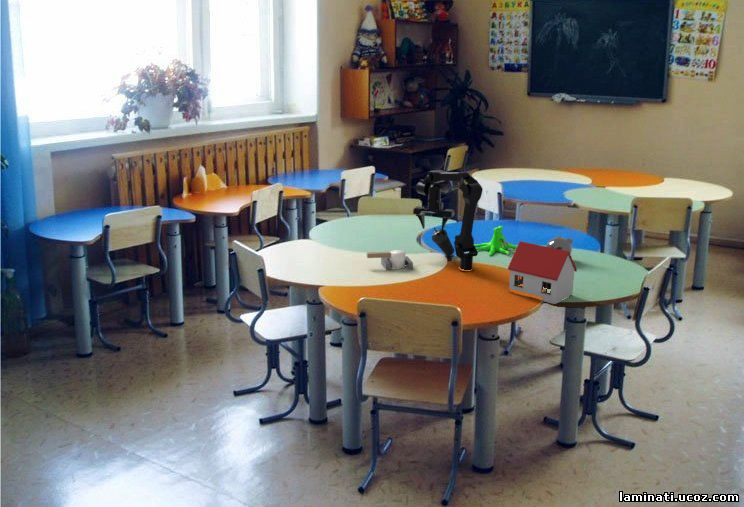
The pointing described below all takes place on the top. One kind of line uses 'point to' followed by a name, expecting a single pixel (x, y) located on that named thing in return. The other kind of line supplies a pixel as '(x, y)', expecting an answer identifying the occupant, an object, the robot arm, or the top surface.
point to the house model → (542, 271)
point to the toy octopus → (496, 243)
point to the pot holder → (386, 263)
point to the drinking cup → (443, 241)
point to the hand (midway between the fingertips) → (433, 229)
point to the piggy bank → (561, 243)
